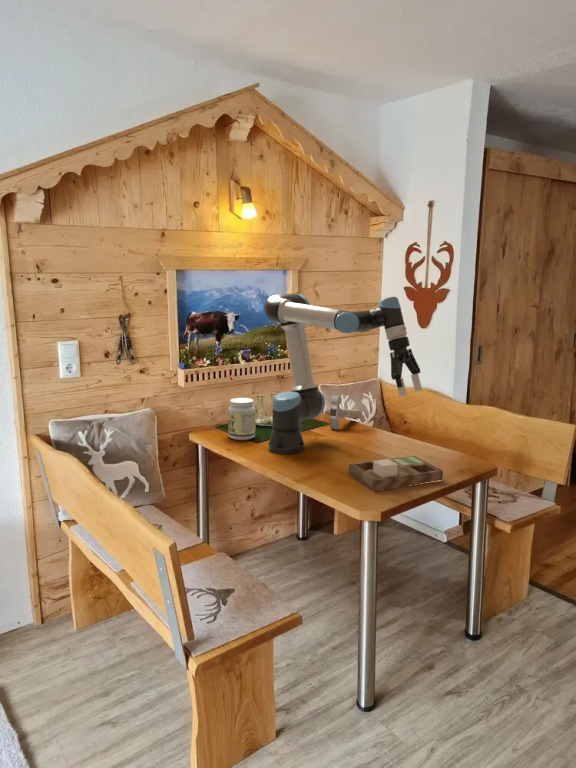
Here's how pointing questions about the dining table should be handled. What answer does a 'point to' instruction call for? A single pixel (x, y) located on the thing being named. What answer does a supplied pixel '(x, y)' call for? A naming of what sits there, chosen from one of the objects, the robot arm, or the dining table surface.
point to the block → (385, 468)
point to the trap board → (407, 473)
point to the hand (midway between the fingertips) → (411, 393)
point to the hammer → (340, 413)
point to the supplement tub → (241, 419)
